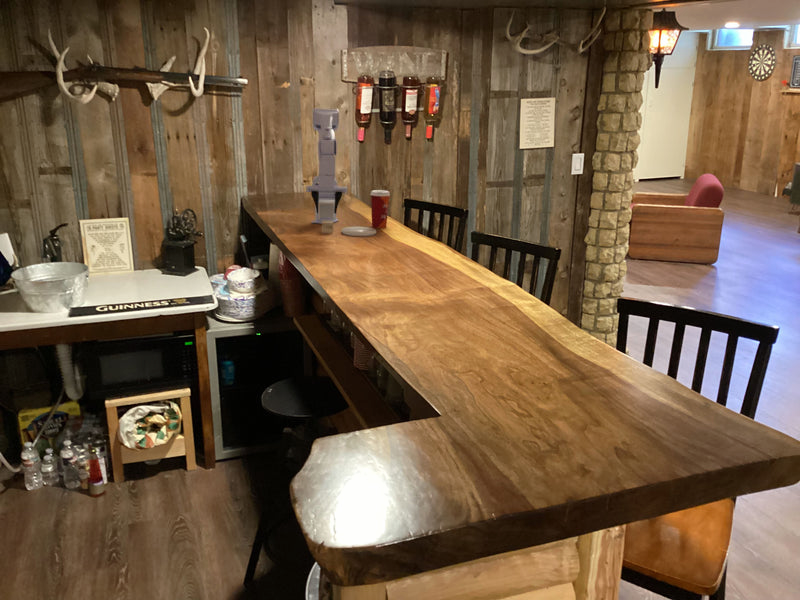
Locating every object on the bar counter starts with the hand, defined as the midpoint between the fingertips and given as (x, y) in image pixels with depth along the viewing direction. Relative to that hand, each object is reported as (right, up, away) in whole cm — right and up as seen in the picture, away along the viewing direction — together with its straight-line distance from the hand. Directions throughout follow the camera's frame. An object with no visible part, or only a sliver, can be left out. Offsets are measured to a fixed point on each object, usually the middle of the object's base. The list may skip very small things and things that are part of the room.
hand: (326, 212), depth 249 cm
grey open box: (0, -2, +1) cm, 2 cm away
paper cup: (+18, -3, +24) cm, 30 cm away
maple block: (-1, -6, +11) cm, 13 cm away
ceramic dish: (+11, -6, +12) cm, 17 cm away
